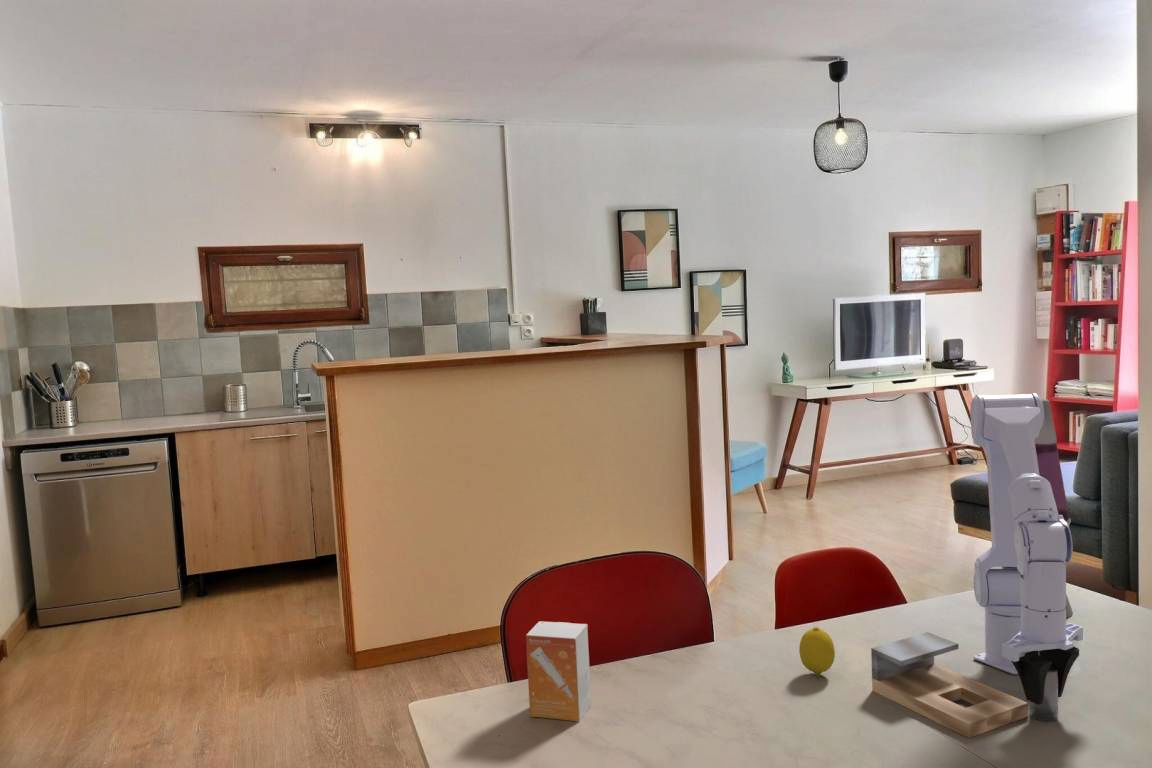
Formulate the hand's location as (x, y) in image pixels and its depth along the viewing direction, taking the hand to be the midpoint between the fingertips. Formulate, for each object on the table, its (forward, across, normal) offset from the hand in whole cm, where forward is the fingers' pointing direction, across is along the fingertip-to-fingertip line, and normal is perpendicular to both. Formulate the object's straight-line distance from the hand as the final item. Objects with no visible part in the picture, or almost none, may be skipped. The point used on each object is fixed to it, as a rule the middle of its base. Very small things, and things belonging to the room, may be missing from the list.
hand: (1043, 698), depth 128 cm
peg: (+3, 0, 0) cm, 3 cm away
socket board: (+3, -8, +10) cm, 13 cm away
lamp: (+3, +37, +28) cm, 46 cm away
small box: (+3, -58, +39) cm, 70 cm away
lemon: (+3, -17, +28) cm, 33 cm away
